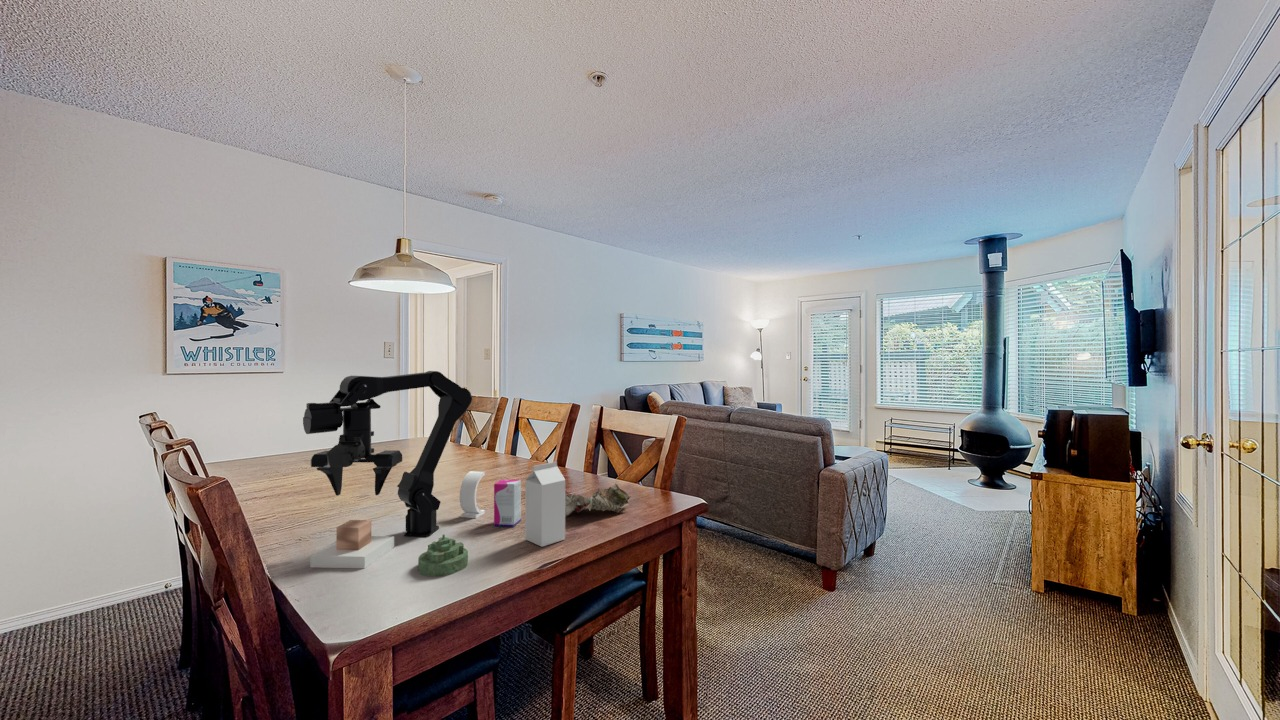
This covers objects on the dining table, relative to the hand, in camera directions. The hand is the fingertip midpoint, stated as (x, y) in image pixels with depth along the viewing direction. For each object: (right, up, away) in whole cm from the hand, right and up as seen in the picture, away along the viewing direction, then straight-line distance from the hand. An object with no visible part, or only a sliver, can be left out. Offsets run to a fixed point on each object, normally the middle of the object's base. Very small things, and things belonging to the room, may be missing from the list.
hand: (357, 495), depth 117 cm
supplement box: (+30, -13, +19) cm, 38 cm away
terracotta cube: (+2, -10, -4) cm, 11 cm away
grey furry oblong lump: (+52, -13, +29) cm, 61 cm away
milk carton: (+43, -13, +7) cm, 45 cm away
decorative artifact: (+24, -13, -9) cm, 29 cm away
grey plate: (+2, -13, -4) cm, 14 cm away
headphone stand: (+18, -13, +25) cm, 34 cm away
